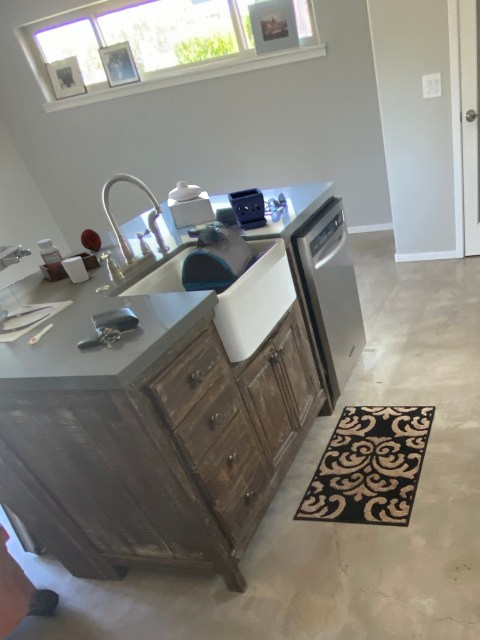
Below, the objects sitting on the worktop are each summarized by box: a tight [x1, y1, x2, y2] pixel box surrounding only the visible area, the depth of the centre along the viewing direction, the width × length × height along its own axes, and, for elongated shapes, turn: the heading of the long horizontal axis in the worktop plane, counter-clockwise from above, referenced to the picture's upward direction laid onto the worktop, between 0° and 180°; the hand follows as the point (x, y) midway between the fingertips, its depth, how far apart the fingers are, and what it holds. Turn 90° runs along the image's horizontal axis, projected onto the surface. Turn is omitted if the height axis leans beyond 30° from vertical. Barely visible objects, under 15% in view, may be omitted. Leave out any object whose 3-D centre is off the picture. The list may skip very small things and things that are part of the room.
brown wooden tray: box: [38, 251, 101, 283], centre depth 193 cm, size 18×10×4 cm, turn 134°
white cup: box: [61, 257, 90, 284], centre depth 182 cm, size 7×7×7 cm
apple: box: [80, 228, 102, 252], centre depth 212 cm, size 7×8×8 cm
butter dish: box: [167, 180, 216, 230], centre depth 229 cm, size 18×18×16 cm
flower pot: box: [227, 187, 268, 231], centre depth 210 cm, size 13×13×12 cm
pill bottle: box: [36, 238, 64, 269], centre depth 188 cm, size 6×6×11 cm
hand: (23, 256), depth 187 cm, fingers open, 8 cm apart
